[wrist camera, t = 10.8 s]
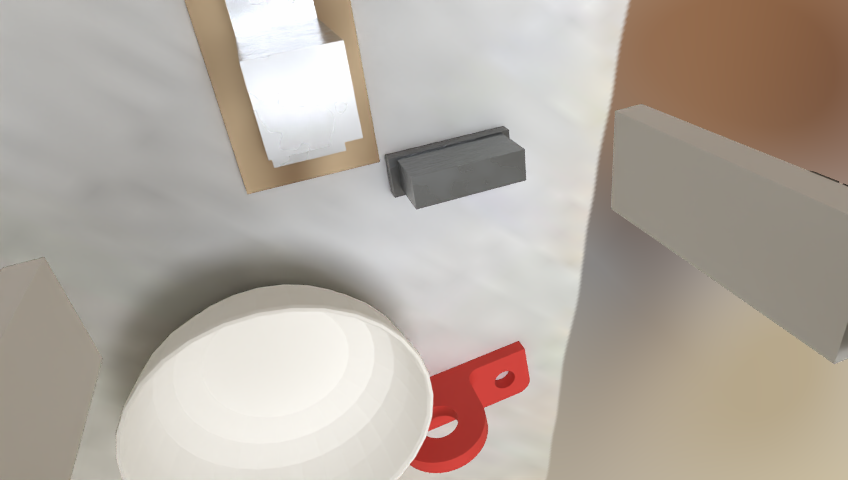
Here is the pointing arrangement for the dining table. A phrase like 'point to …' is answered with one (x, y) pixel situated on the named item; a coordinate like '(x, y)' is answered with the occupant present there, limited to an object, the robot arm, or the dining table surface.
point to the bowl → (278, 393)
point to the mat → (238, 111)
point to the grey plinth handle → (456, 167)
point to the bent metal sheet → (295, 79)
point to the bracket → (469, 406)
